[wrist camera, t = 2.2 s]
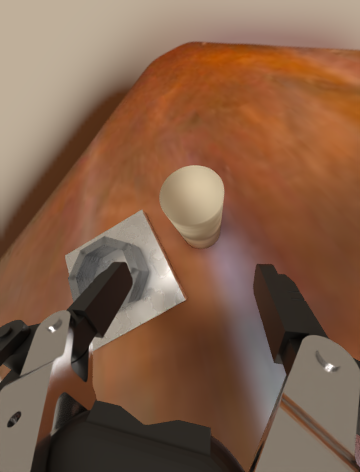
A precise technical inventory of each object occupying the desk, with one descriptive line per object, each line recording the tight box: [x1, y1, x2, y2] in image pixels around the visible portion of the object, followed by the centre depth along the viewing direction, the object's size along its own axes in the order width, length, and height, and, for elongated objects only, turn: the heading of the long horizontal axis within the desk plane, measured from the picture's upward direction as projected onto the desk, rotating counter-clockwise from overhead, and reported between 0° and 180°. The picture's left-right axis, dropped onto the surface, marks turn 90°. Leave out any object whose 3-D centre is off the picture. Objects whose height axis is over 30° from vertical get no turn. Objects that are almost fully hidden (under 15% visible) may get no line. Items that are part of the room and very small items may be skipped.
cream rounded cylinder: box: [160, 165, 224, 249], centre depth 17 cm, size 5×5×10 cm
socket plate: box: [65, 210, 188, 351], centre depth 20 cm, size 14×14×4 cm
